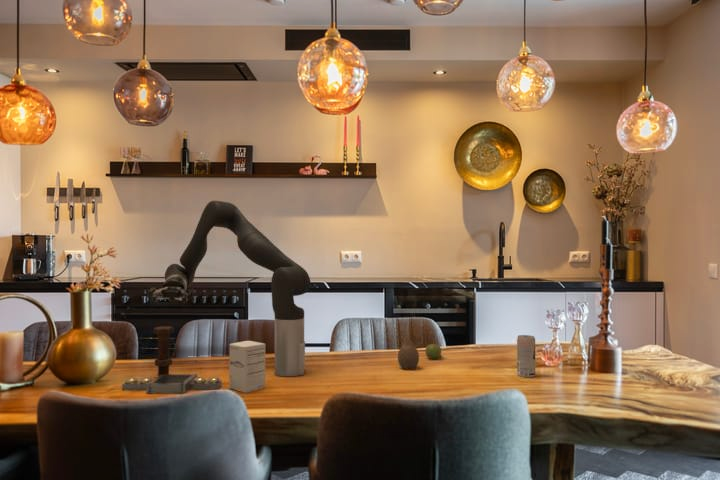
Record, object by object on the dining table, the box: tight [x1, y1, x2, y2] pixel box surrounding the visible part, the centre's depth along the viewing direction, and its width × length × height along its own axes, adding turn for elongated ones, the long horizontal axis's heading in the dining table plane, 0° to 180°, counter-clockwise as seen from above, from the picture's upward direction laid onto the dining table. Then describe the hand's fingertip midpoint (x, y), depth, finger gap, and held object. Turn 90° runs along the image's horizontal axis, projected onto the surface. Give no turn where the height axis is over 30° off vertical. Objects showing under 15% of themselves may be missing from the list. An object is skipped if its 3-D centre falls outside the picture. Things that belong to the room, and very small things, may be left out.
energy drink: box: [516, 334, 536, 379], centre depth 163 cm, size 5×5×12 cm
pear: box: [425, 343, 442, 360], centre depth 189 cm, size 6×5×10 cm
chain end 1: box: [121, 374, 184, 395], centre depth 149 cm, size 18×11×3 cm, turn 92°
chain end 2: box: [163, 373, 223, 394], centre depth 149 cm, size 18×11×3 cm, turn 92°
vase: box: [397, 340, 420, 370], centre depth 173 cm, size 7×7×9 cm
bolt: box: [152, 325, 175, 377], centre depth 162 cm, size 6×5×15 cm
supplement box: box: [228, 340, 266, 394], centre depth 149 cm, size 7×7×13 cm
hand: (169, 300), depth 169 cm, fingers open, 8 cm apart
